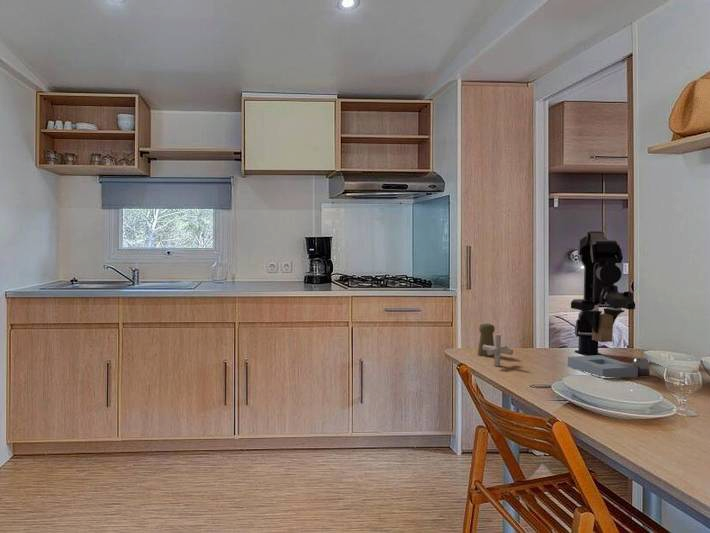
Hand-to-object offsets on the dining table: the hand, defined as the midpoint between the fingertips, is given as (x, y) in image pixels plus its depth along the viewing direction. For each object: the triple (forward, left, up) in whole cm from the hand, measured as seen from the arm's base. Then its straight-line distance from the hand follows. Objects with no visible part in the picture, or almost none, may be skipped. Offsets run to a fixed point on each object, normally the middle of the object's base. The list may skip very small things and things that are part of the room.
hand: (602, 332), depth 156 cm
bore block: (0, 0, -12) cm, 12 cm away
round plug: (+6, +9, -12) cm, 16 cm away
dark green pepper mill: (-28, -24, -12) cm, 39 cm away
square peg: (0, 0, -2) cm, 2 cm away
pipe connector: (-13, -28, -12) cm, 33 cm away
